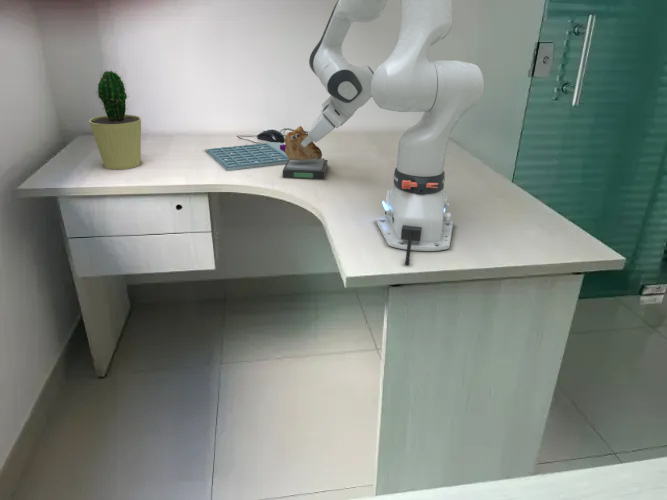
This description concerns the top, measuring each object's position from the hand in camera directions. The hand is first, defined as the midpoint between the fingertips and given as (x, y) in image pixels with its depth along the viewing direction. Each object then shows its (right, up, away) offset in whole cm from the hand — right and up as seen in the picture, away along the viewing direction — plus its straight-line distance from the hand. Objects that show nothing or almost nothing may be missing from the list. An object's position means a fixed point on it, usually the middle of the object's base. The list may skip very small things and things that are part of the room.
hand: (304, 141), depth 165 cm
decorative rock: (0, -6, +1) cm, 6 cm away
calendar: (-18, -1, +21) cm, 28 cm away
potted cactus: (-60, -6, +7) cm, 61 cm away
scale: (0, -9, +4) cm, 10 cm away
